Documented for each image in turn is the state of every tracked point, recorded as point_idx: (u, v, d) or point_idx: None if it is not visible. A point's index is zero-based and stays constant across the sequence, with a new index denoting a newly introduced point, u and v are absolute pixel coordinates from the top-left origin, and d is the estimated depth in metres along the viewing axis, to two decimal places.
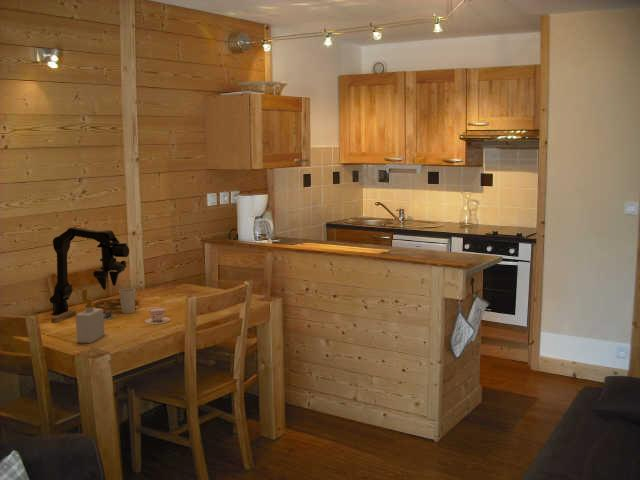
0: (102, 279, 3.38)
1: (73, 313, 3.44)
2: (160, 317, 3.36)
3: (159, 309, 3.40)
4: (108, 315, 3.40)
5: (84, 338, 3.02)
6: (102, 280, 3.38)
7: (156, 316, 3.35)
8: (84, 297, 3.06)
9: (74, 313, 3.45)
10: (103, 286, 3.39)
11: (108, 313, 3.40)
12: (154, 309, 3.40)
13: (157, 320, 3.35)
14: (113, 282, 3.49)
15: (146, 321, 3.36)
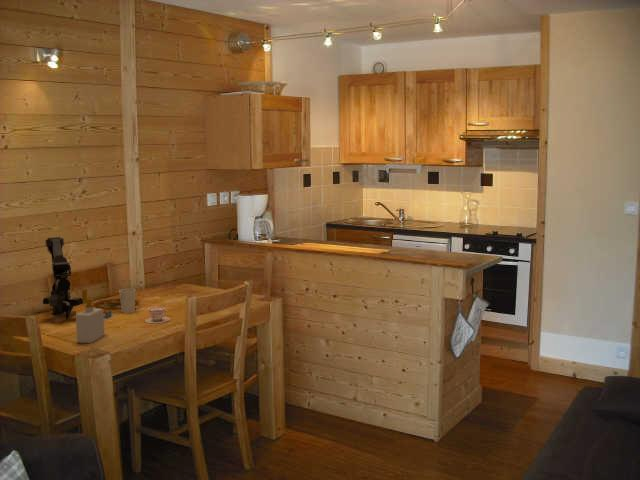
0: None
1: (73, 313, 3.44)
2: (160, 316, 3.37)
3: (159, 308, 3.41)
4: (108, 315, 3.40)
5: (84, 338, 3.02)
6: None
7: (156, 315, 3.36)
8: (84, 297, 3.06)
9: (74, 313, 3.45)
10: None
11: (108, 313, 3.40)
12: (154, 308, 3.41)
13: (157, 319, 3.37)
14: None
15: (146, 320, 3.37)
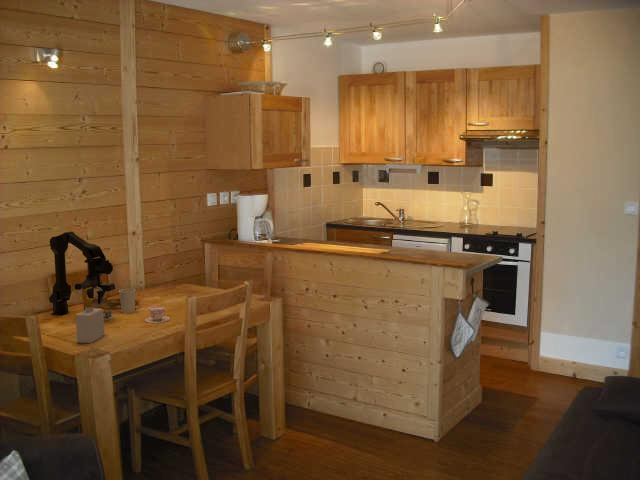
0: None
1: (104, 299, 3.42)
2: (160, 316, 3.38)
3: (159, 308, 3.42)
4: (108, 315, 3.40)
5: (84, 338, 3.02)
6: None
7: (156, 315, 3.37)
8: (84, 297, 3.06)
9: (105, 299, 3.43)
10: None
11: (108, 313, 3.40)
12: (154, 308, 3.42)
13: (157, 319, 3.37)
14: None
15: (146, 320, 3.38)
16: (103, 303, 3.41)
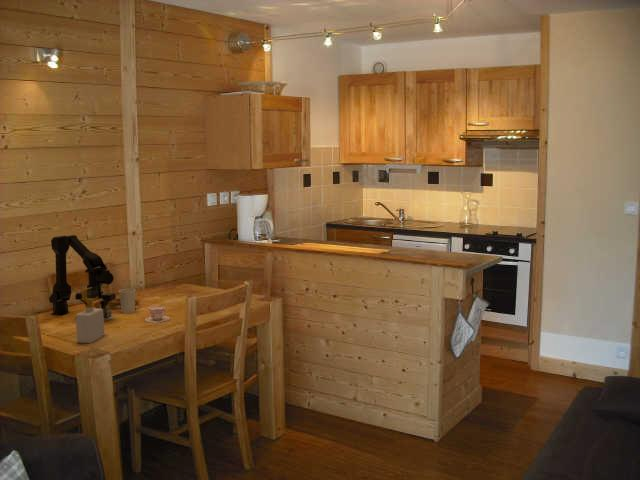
0: None
1: (105, 309, 3.43)
2: (160, 316, 3.38)
3: (159, 308, 3.43)
4: (108, 315, 3.40)
5: (84, 338, 3.02)
6: None
7: (156, 315, 3.37)
8: (84, 297, 3.06)
9: (106, 309, 3.44)
10: None
11: (108, 313, 3.40)
12: (154, 308, 3.42)
13: (157, 319, 3.38)
14: None
15: (146, 319, 3.39)
16: (104, 314, 3.42)
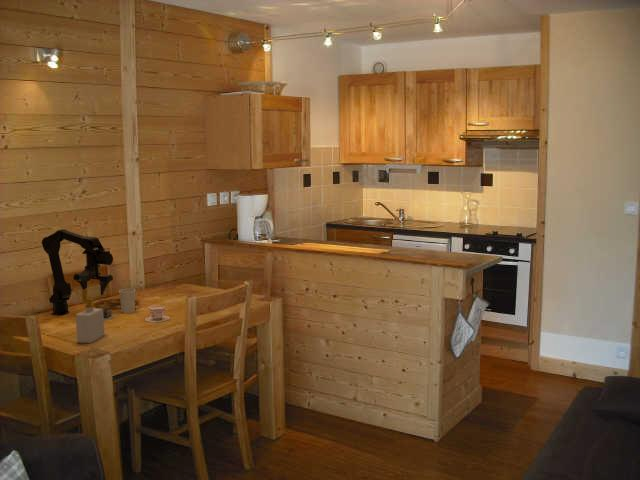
0: None
1: (105, 309, 3.43)
2: (160, 315, 3.39)
3: (159, 307, 3.43)
4: (108, 315, 3.40)
5: (84, 338, 3.02)
6: None
7: (156, 314, 3.38)
8: (84, 297, 3.06)
9: (106, 309, 3.44)
10: None
11: (108, 313, 3.40)
12: (154, 307, 3.43)
13: (157, 318, 3.39)
14: None
15: (146, 319, 3.40)
16: (104, 314, 3.42)
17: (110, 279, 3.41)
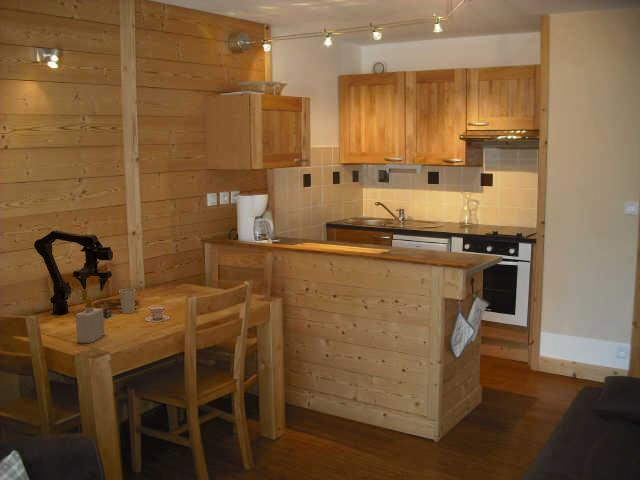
0: None
1: (105, 309, 3.43)
2: (160, 315, 3.39)
3: (159, 307, 3.44)
4: (108, 315, 3.40)
5: (84, 338, 3.02)
6: None
7: (156, 314, 3.38)
8: (84, 297, 3.06)
9: (106, 309, 3.44)
10: None
11: (108, 313, 3.40)
12: (154, 307, 3.43)
13: (157, 318, 3.39)
14: None
15: (146, 319, 3.40)
16: (104, 314, 3.42)
17: (109, 275, 3.46)
